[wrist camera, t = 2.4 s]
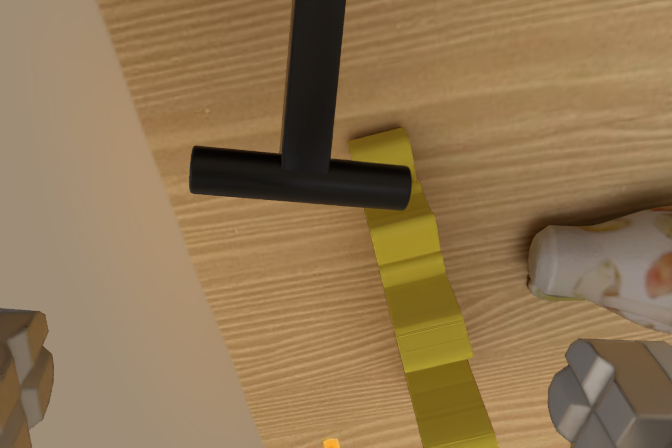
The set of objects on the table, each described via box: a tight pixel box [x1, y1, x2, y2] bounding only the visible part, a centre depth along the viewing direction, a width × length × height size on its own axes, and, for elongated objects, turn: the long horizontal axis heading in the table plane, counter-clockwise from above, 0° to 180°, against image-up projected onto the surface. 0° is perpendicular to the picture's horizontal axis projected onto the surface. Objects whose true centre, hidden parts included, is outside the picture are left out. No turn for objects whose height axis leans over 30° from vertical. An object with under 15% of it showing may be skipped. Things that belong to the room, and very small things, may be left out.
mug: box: [528, 206, 672, 334], centre depth 33 cm, size 8×10×10 cm
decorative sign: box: [348, 127, 499, 448], centre depth 29 cm, size 20×3×15 cm, turn 13°
